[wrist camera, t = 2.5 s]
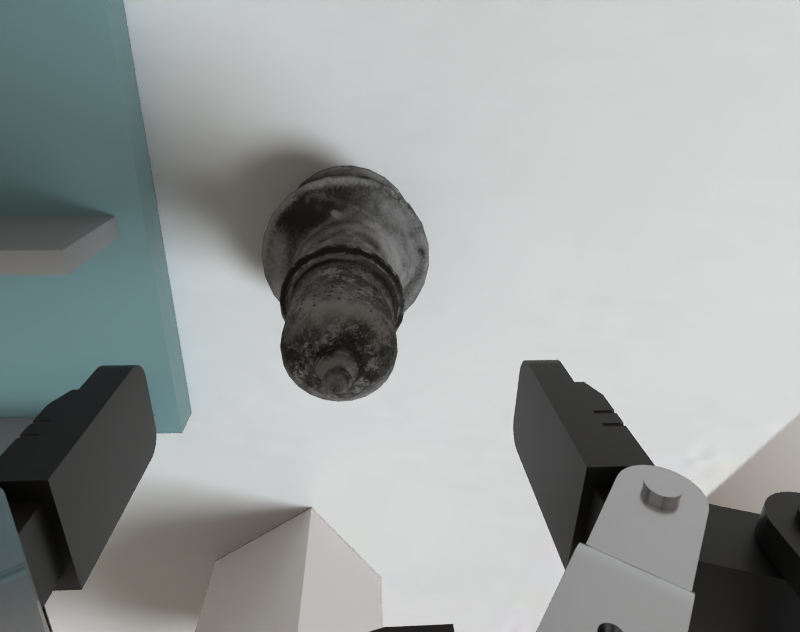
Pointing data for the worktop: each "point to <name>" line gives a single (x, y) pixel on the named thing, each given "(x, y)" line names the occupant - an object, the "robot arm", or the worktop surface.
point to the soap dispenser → (293, 584)
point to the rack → (78, 216)
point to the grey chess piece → (343, 279)
